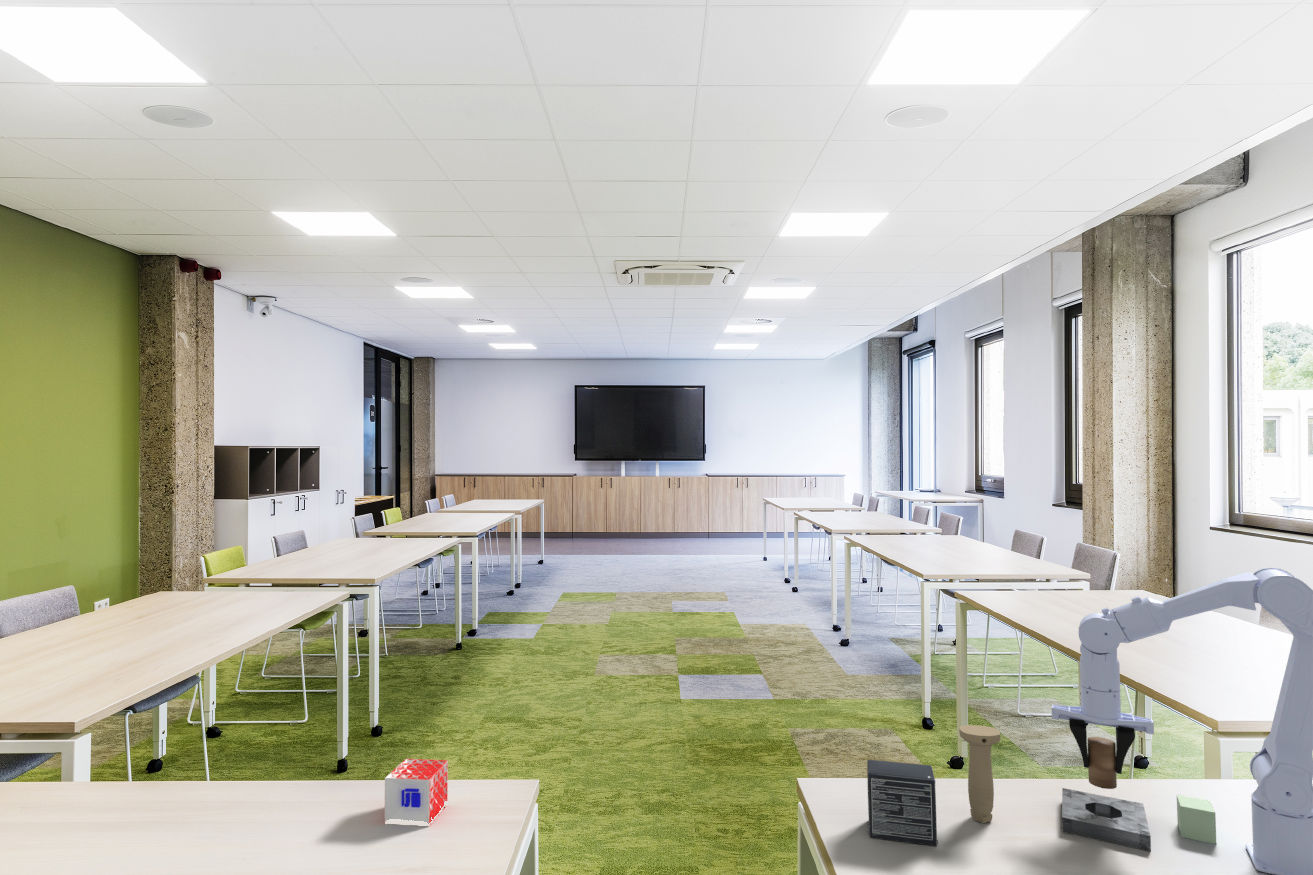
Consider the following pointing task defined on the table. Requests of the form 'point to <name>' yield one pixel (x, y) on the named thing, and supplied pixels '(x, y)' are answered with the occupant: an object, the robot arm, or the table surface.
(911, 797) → the small box
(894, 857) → the table surface
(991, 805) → the handle
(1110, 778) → the walnut peg
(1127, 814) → the socket block
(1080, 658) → the robot arm
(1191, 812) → the square bit
